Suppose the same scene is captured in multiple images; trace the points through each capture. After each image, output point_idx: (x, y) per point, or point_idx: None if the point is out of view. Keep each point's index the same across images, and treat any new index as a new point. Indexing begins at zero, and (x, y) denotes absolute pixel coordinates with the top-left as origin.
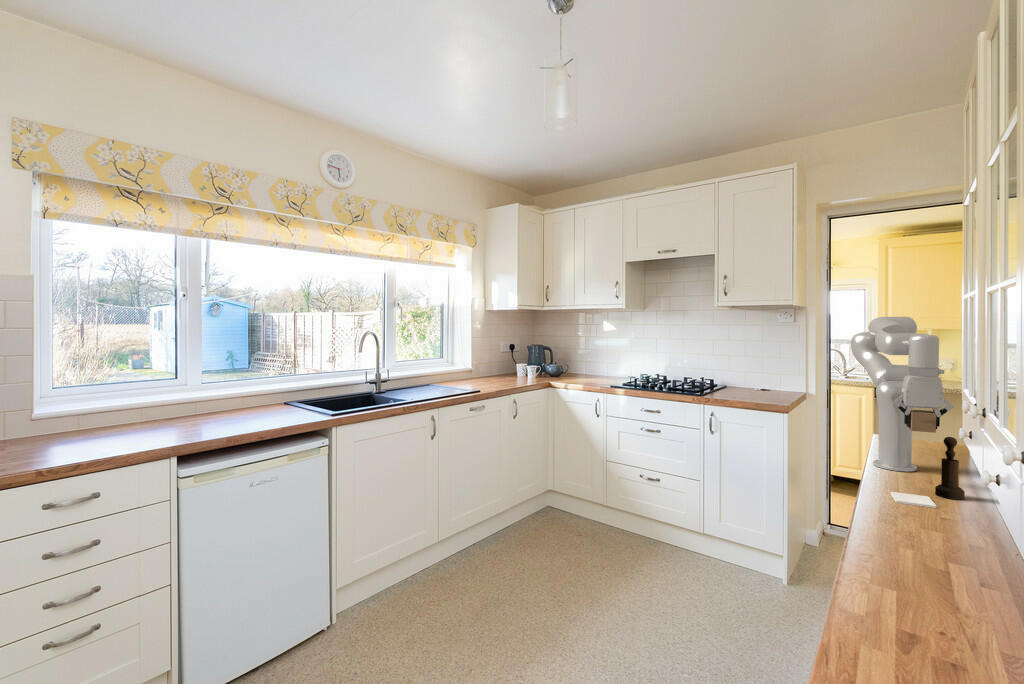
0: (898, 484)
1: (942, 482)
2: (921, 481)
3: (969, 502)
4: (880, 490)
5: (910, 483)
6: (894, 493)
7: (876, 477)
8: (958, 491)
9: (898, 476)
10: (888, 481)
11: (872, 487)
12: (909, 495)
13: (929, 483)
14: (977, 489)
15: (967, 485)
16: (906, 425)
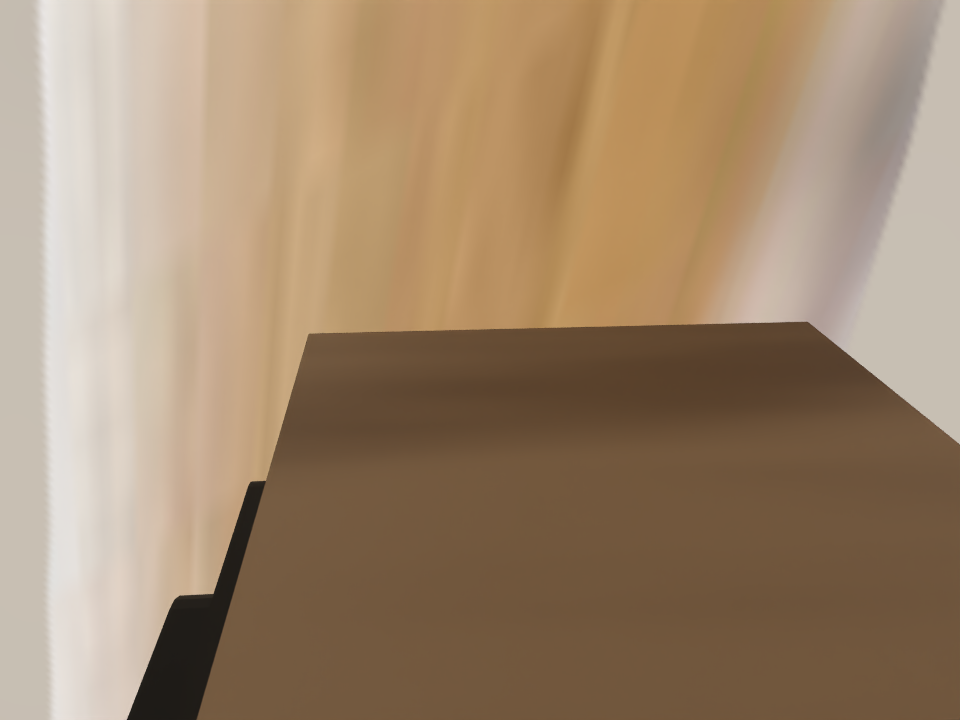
0: (281, 371)
1: None
2: (491, 144)
3: None
4: (143, 619)
5: (382, 280)
6: None
7: (102, 202)
8: None
9: (307, 32)
10: (205, 307)
11: (86, 569)
12: None
13: (545, 189)
14: (885, 200)
15: (862, 85)
16: (256, 492)
